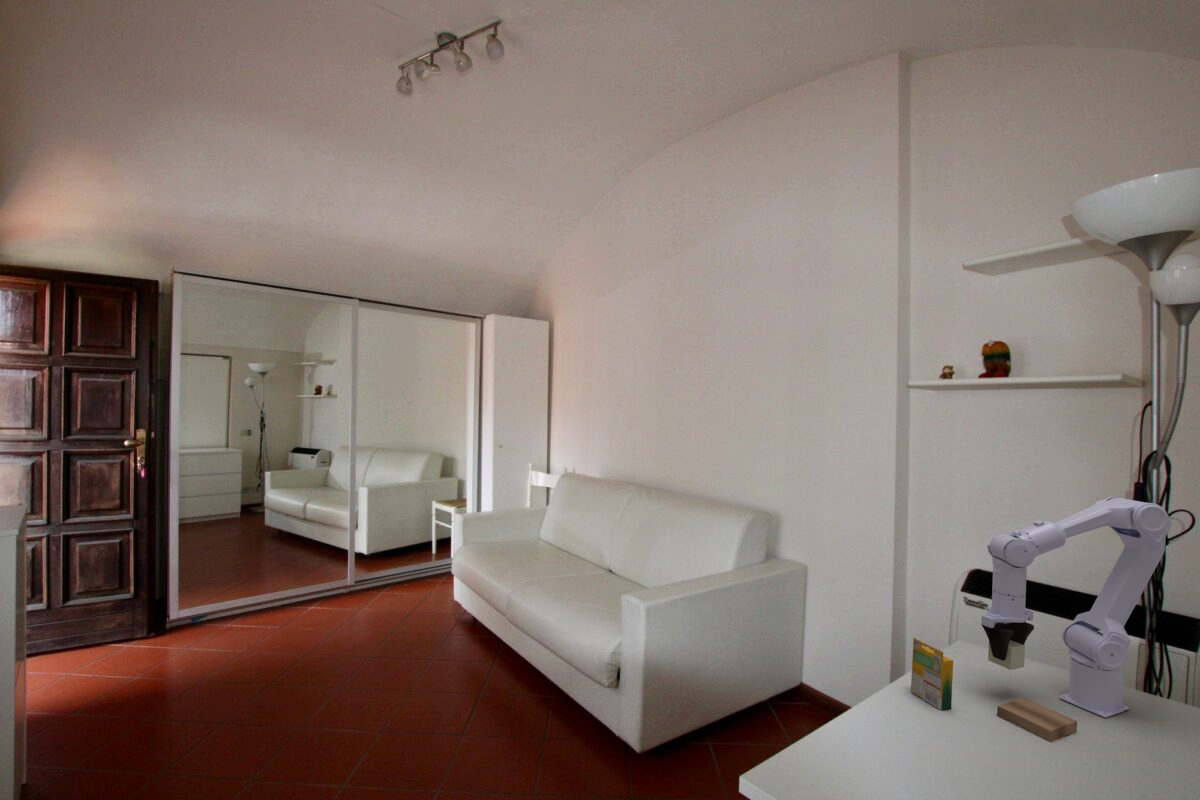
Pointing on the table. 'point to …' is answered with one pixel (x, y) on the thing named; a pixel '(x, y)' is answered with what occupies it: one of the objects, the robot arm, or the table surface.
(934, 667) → the crayon box
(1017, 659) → the sage cube
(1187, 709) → the table surface
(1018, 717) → the walnut base block
